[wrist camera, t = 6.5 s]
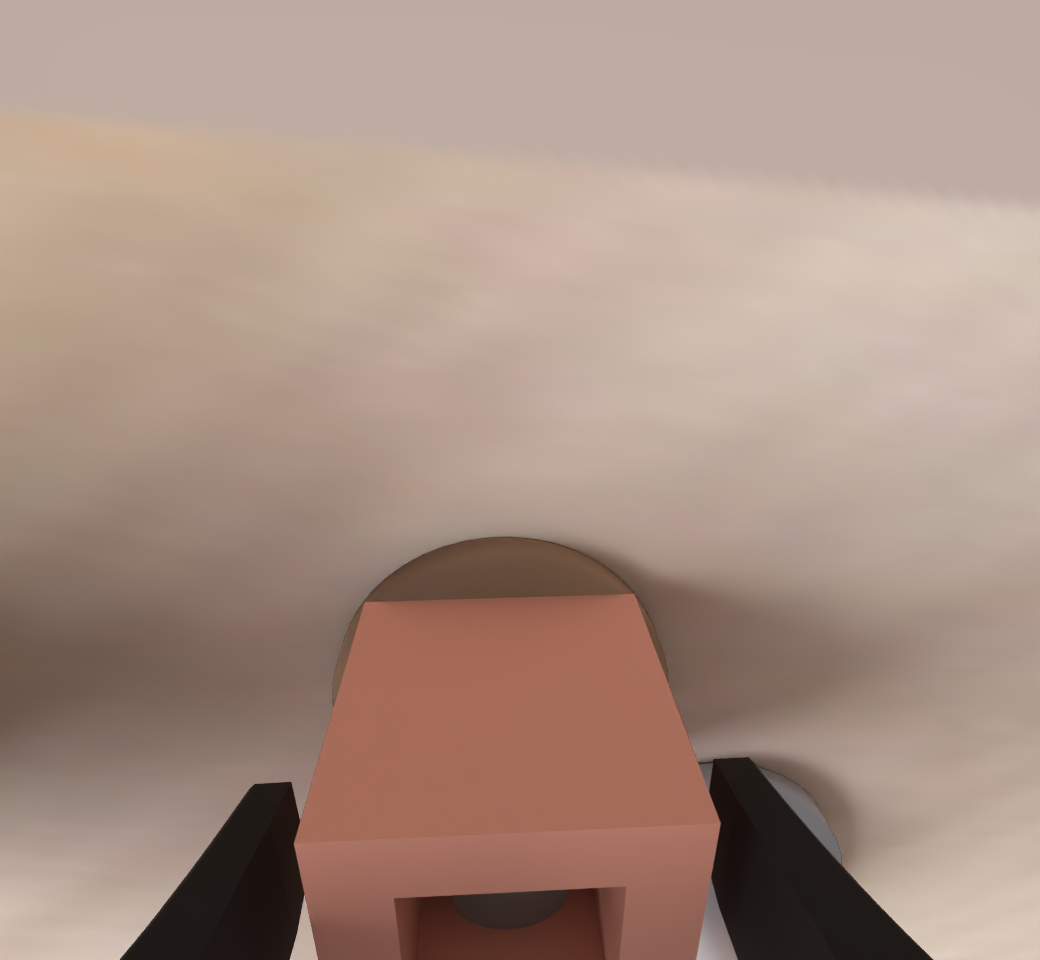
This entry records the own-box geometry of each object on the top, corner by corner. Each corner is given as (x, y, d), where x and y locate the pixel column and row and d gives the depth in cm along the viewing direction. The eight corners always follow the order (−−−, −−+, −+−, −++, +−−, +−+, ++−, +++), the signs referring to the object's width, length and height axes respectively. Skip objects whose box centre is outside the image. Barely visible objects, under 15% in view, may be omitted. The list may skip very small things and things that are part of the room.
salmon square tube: (617, 786, 15) (679, 1054, 10) (387, 796, 14) (342, 1076, 10) (634, 594, 12) (721, 822, 8) (364, 602, 12) (293, 844, 8)
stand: (688, 971, 19) (748, 1204, 15) (508, 877, 17) (517, 1116, 13) (879, 842, 17) (1015, 1065, 13) (704, 718, 15) (794, 934, 11)
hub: (517, 830, 16) (530, 1066, 12) (276, 696, 14) (183, 923, 10) (723, 656, 14) (829, 861, 10) (480, 471, 12) (479, 627, 8)
